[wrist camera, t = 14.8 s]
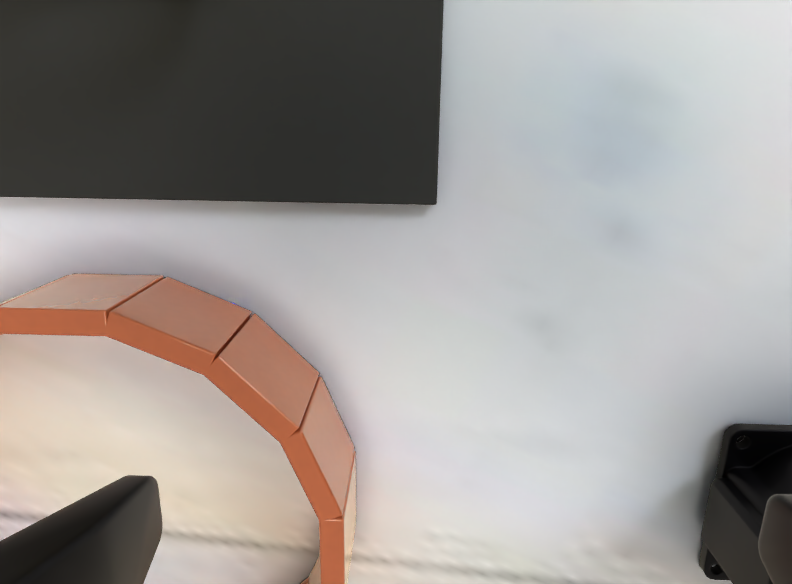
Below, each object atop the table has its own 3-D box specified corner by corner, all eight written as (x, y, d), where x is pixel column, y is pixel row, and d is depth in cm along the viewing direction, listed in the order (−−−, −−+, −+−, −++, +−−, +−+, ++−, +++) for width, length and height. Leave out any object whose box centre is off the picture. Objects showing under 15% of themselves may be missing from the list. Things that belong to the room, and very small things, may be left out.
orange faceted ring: (355, 279, 20) (341, 315, 16) (357, 655, 25) (346, 753, 21) (-113, 269, 20) (-236, 302, 17) (-25, 640, 25) (-105, 734, 21)
